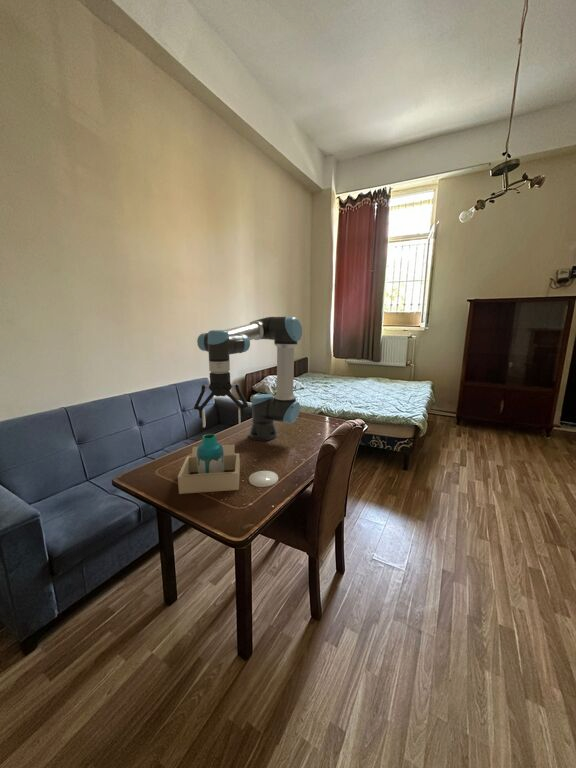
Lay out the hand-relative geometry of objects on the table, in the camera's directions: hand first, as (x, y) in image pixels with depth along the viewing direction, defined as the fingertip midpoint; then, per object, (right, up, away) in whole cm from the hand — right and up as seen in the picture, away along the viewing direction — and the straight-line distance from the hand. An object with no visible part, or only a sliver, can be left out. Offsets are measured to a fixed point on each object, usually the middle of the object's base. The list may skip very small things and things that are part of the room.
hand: (222, 425), depth 122 cm
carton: (-5, -23, +5) cm, 24 cm away
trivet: (+16, -23, +6) cm, 28 cm away
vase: (-5, -23, +5) cm, 24 cm away
